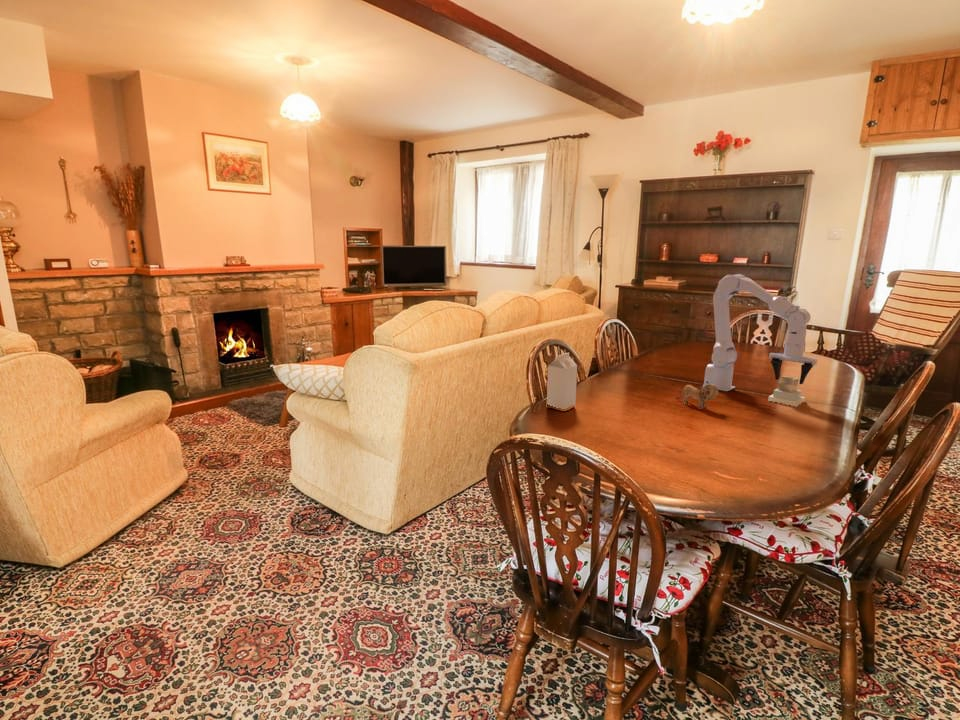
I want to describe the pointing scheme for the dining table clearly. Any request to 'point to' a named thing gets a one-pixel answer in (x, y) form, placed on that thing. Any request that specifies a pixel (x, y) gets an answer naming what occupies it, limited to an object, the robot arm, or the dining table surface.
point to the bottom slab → (786, 401)
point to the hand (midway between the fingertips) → (789, 381)
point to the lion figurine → (700, 393)
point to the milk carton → (562, 382)
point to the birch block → (788, 384)
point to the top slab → (787, 394)
